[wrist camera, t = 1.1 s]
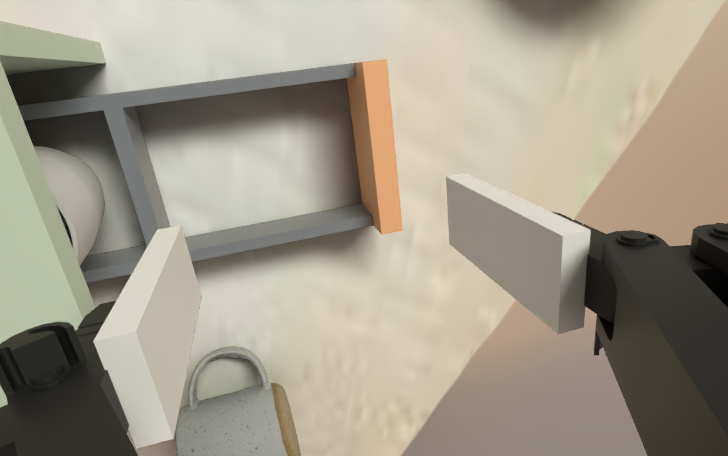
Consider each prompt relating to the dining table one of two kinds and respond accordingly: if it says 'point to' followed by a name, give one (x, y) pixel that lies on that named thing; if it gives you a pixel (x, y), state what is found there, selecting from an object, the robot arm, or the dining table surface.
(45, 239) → the toy stool
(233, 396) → the ceramic mug
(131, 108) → the drawer
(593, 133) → the dining table surface
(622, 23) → the dining table surface
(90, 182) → the cup
